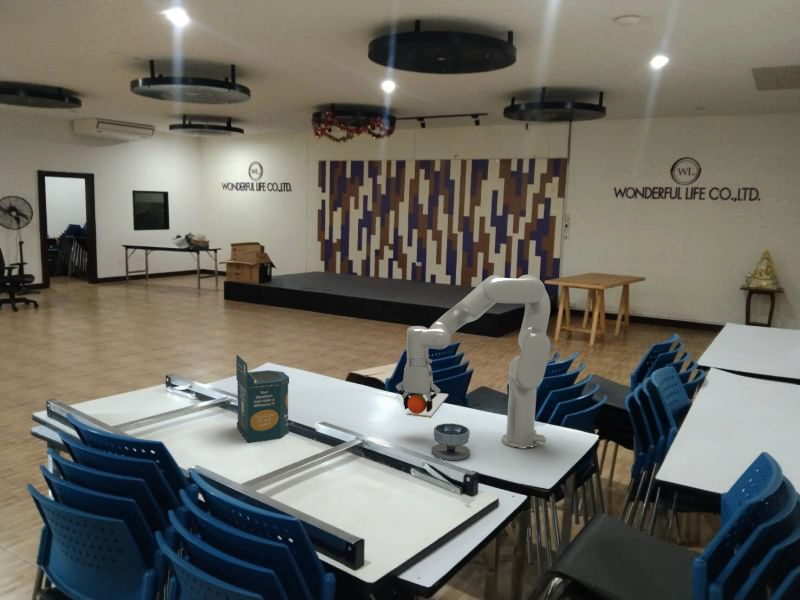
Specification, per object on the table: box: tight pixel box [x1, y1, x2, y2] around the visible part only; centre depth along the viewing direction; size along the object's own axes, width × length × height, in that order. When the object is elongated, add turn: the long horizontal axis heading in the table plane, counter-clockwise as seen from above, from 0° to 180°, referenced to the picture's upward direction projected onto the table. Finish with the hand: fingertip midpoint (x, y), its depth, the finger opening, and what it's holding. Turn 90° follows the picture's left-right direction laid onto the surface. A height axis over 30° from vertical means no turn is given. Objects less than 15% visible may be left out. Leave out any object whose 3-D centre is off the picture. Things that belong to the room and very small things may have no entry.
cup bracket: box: [431, 422, 471, 462], centre depth 207 cm, size 13×13×8 cm
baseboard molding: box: [405, 391, 449, 419], centre depth 259 cm, size 31×3×12 cm
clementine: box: [407, 393, 426, 414], centre depth 218 cm, size 8×7×7 cm
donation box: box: [235, 354, 290, 444], centre depth 220 cm, size 16×16×28 cm
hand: (417, 409), depth 218 cm, fingers closed on clementine, 7 cm apart
